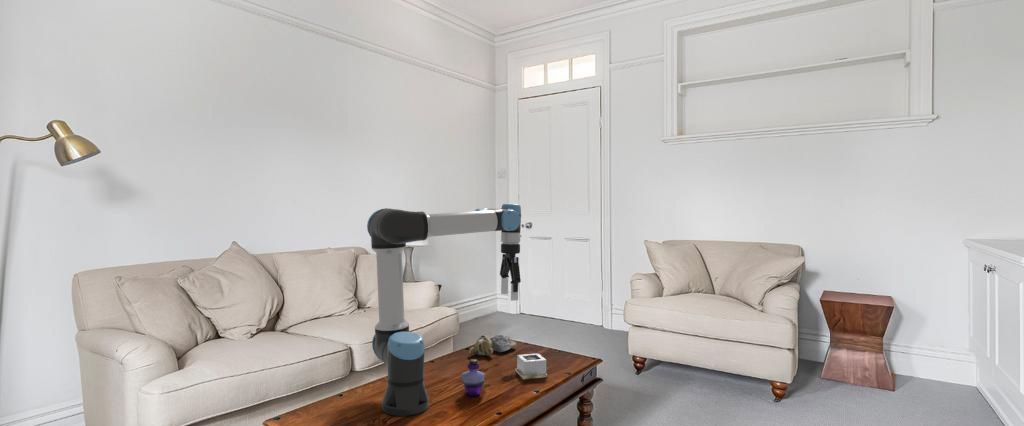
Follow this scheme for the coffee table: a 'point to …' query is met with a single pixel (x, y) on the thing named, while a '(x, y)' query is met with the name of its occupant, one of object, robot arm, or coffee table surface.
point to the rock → (502, 343)
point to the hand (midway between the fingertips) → (509, 297)
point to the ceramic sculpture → (482, 346)
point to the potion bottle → (473, 379)
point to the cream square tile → (531, 375)
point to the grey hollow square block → (531, 364)
